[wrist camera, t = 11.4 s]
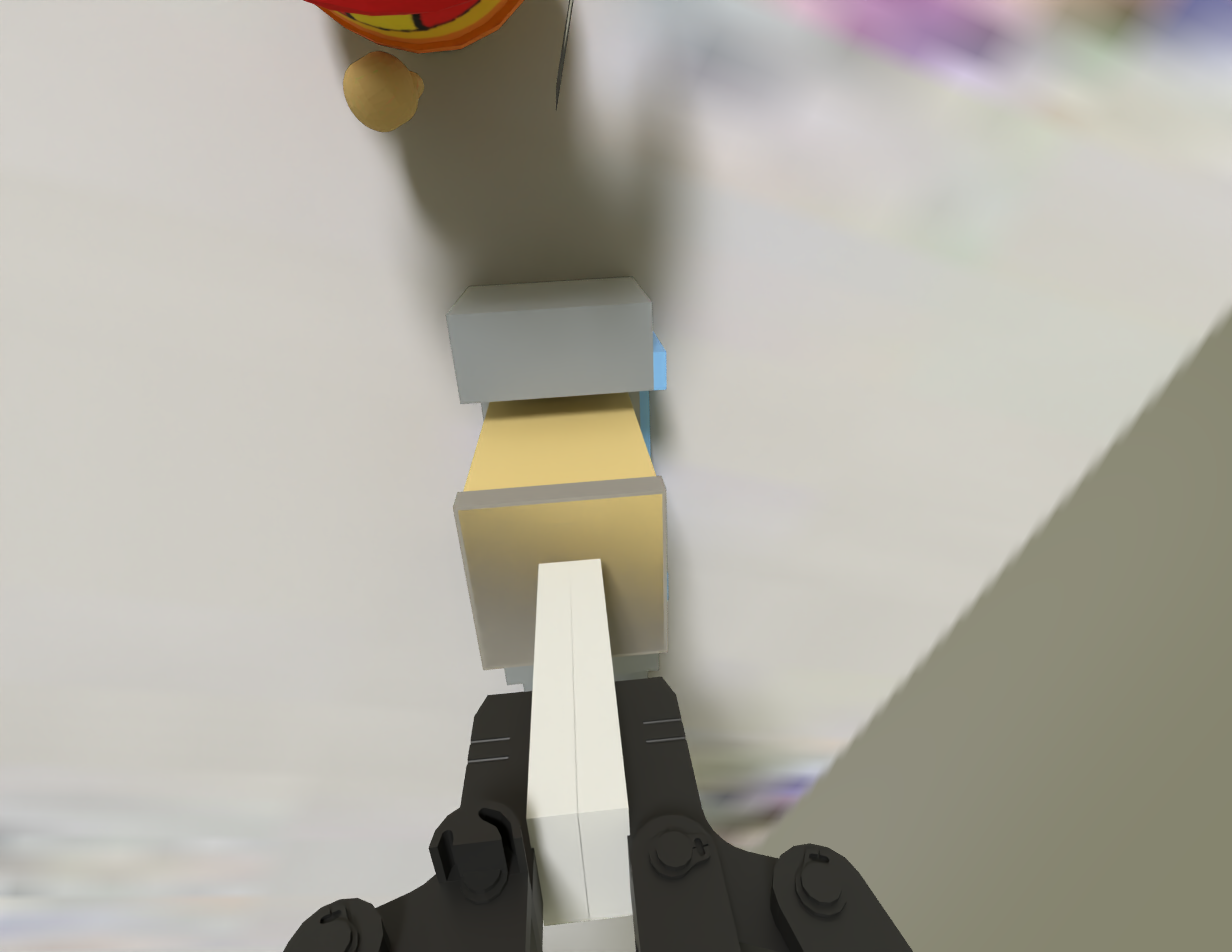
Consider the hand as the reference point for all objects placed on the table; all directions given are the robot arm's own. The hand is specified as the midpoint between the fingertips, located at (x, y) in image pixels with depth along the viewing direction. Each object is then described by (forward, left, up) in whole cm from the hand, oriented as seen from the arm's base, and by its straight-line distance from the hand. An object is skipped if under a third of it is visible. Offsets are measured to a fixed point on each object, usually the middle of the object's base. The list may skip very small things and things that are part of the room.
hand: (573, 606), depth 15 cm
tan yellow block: (0, 0, -10) cm, 10 cm away
